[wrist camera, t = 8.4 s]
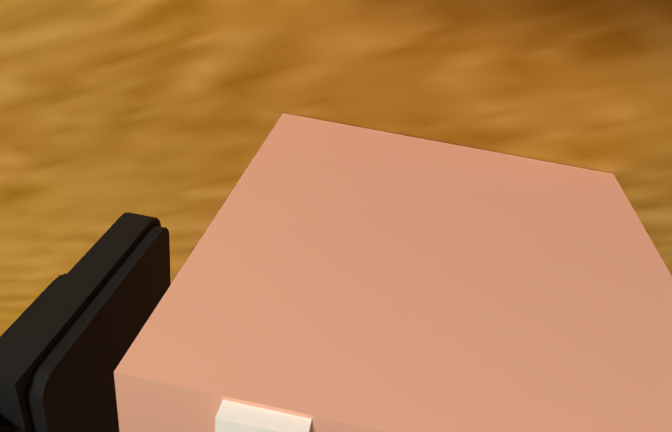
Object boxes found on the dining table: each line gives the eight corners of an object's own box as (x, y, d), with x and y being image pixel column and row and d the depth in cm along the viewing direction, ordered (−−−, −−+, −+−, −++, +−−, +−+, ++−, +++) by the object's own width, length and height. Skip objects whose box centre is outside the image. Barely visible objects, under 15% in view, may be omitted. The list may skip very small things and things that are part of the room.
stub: (612, 174, 10) (827, 547, 5) (514, 403, 13) (569, 794, 8) (283, 112, 11) (101, 390, 5) (262, 349, 14) (136, 685, 8)
